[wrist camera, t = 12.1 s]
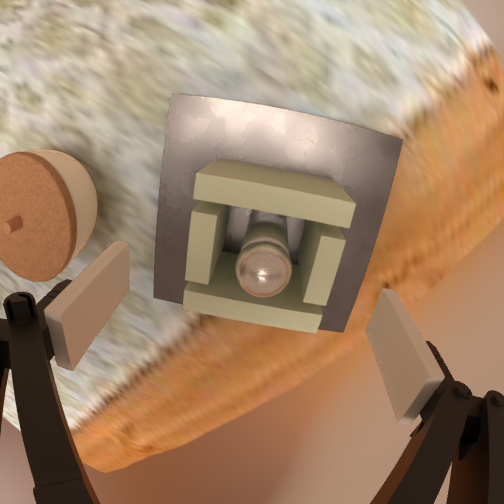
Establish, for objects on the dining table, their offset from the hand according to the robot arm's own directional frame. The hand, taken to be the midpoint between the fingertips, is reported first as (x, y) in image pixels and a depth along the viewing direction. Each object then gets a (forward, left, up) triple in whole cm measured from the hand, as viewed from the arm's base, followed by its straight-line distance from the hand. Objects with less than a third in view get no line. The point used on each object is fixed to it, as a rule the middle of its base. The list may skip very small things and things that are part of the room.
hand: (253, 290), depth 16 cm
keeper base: (0, 0, -12) cm, 12 cm away
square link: (0, 0, -11) cm, 11 cm away
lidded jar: (-19, -1, -12) cm, 22 cm away
